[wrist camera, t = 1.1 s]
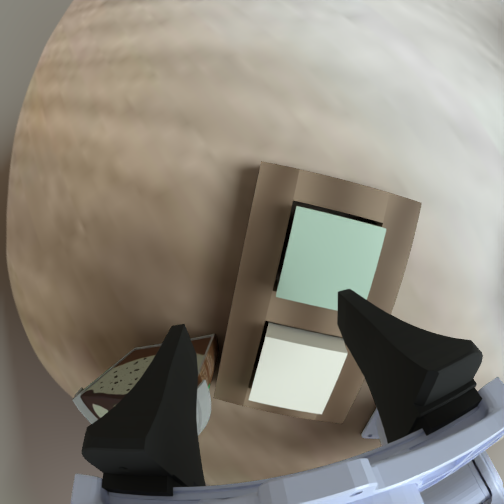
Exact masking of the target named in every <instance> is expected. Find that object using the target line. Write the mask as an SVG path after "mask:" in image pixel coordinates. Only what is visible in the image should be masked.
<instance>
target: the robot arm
mask: <svg viewBox="0 0 504 504" xmlns="http://www.w3.org/2000/svg"><path fill="white" fill-rule="evenodd" d="M337 325H338V327H339V330H340V332H341V335H342V337H343V340H344V342H345V344H346V345H347V347H348V349H349V351H350V352H351V354H352V356H353V358H354V359H355V361H356V363H357V365H358V367H359V368H360V370H361V372H362V374H363V375H364V377H365V379H366V381H367V384H368V386H369V389H370V391H371V394H372V396H373V399H374V402H375V404H376V409H375V411H374V413H373V415H372V416H371V418H370V420H369V422H368V423H367V425H366V427H365V428H364V430H363V432H362V434H361V435H362V437H363V438H372V439H380V442H381V445H382V446H381V447H379V448H376V449H374V450H371V451H368V452H366V453H363V454H360V455H357V456H354V457H351V458H348V459H345V460H342V461H339V462H336V463H332V464H329V465H325V466H322V467H318V468H314V469H311V470H307V471H302V472H298V473H294V474H289V475H285V476H280V477H274V478H269V479H263V480H257V481H250V482H243V483H235V484H226V485H215V486H205V481H204V475H203V470H202V464H201V457H200V450H199V442H198V433H197V421H196V407H197V386H198V365H197V354H196V352H195V349H194V347H193V344H192V342H191V339H190V337H189V334H188V332H187V329H186V327H185V324H181V325H175V326H172V327H171V328H170V330H169V332H168V334H167V335H166V337H165V339H164V341H163V343H162V345H161V346H160V348H159V350H158V352H157V353H156V355H155V357H154V358H153V360H152V362H151V363H150V365H149V366H148V368H147V369H146V371H145V372H144V374H143V375H142V377H141V378H140V379H139V381H138V382H137V383H136V384H135V386H134V387H133V388H132V389H131V390H130V391H129V392H128V393H127V394H126V395H125V397H124V398H123V399H122V400H121V401H120V402H119V403H118V404H117V405H115V406H114V407H113V408H112V409H111V410H110V411H109V412H107V413H106V414H105V415H104V416H102V417H101V418H100V419H98V420H97V421H95V422H94V423H93V424H91V425H90V426H88V427H87V431H86V433H85V438H84V442H83V447H82V455H83V457H84V458H85V459H86V460H87V461H88V462H89V463H91V464H92V465H94V466H95V467H96V468H98V469H99V470H100V471H102V472H103V479H102V478H99V477H96V476H90V475H83V474H75V478H74V484H73V491H72V498H71V504H504V488H503V486H502V485H503V482H502V480H501V478H500V476H499V474H498V473H497V471H496V469H495V467H494V465H493V463H492V461H491V460H490V458H489V456H488V454H487V453H486V451H485V450H486V449H487V448H489V447H490V446H491V445H493V444H494V443H495V442H497V441H498V440H499V439H500V438H501V437H502V436H503V435H504V384H503V382H502V381H501V380H500V379H499V377H496V378H495V379H493V380H492V381H491V382H489V383H488V384H486V385H485V386H483V387H482V388H481V389H480V390H479V391H478V392H477V390H476V389H475V388H474V387H476V382H475V381H474V379H473V378H474V376H475V374H476V372H477V370H478V369H479V367H480V364H481V362H482V357H483V355H482V352H481V351H480V350H479V349H478V348H477V347H476V345H475V344H474V343H473V342H472V341H471V340H464V339H457V338H451V337H447V336H443V335H439V334H435V333H432V332H429V331H426V330H423V329H420V328H418V327H415V326H413V325H410V324H408V323H406V322H404V321H402V320H400V319H398V318H396V317H394V316H392V315H390V314H389V313H387V312H385V311H383V310H382V309H380V308H378V307H377V306H375V305H374V304H372V303H371V302H369V301H368V300H366V299H365V298H363V297H362V296H360V295H359V294H357V293H356V292H354V291H353V290H351V289H346V290H342V291H338V316H337ZM369 434H371V435H369Z"/></svg>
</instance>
